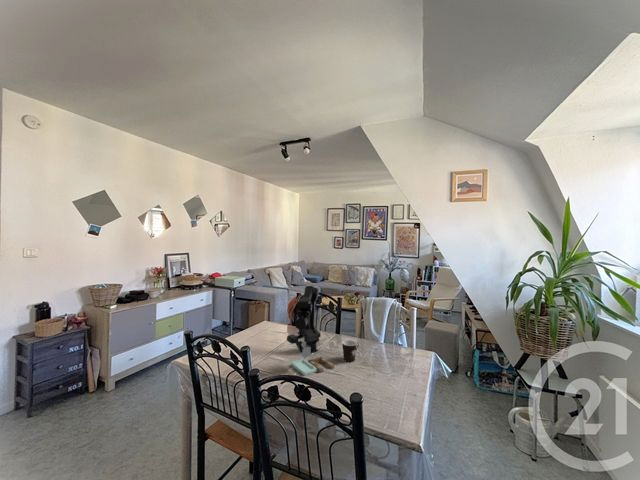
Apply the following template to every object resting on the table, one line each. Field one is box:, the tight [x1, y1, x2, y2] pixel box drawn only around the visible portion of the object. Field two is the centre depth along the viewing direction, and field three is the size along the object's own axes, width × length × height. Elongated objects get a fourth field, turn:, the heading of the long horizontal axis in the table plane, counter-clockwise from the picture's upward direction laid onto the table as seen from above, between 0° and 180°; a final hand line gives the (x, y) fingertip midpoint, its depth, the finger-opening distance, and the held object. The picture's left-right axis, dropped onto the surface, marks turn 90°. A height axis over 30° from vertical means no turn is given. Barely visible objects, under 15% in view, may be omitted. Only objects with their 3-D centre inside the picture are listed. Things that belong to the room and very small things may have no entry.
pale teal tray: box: [291, 358, 318, 377], centre depth 153 cm, size 14×8×2 cm, turn 34°
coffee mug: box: [341, 339, 360, 363], centre depth 165 cm, size 12×9×10 cm
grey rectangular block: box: [297, 341, 312, 358], centre depth 153 cm, size 8×4×5 cm, turn 27°
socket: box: [307, 356, 335, 373], centre depth 157 cm, size 12×9×2 cm
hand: (304, 351), depth 153 cm, fingers closed on grey rectangular block, 4 cm apart
